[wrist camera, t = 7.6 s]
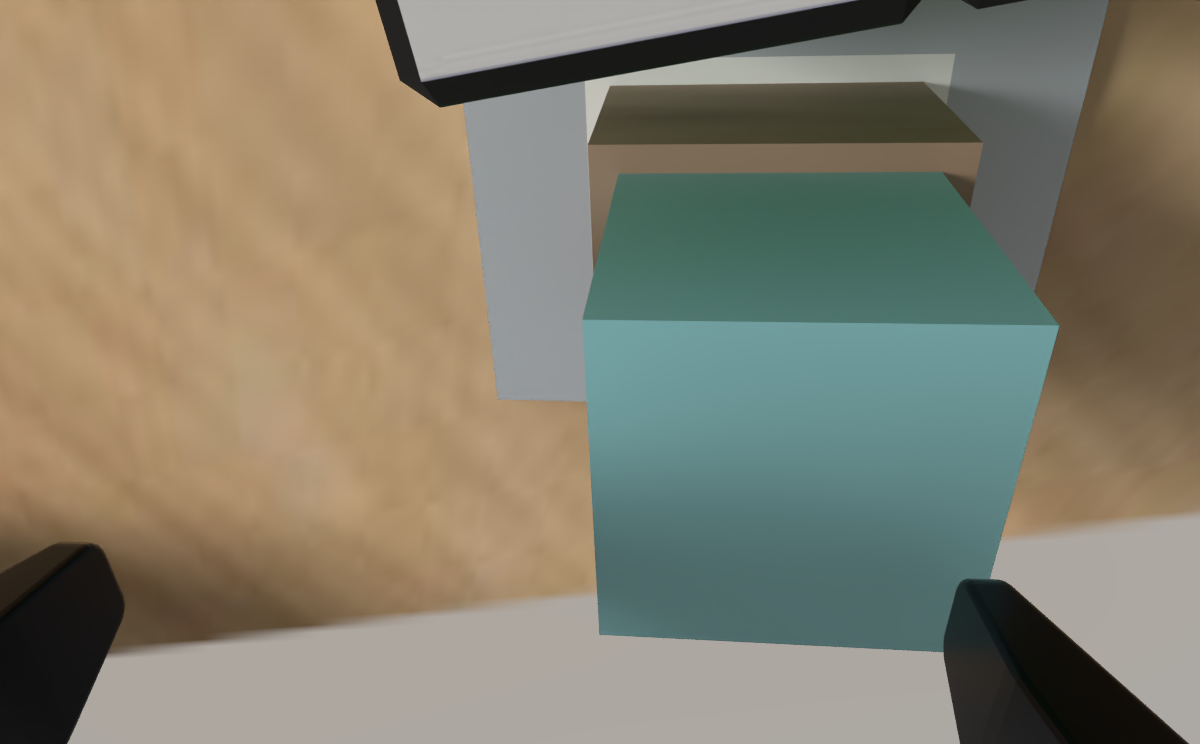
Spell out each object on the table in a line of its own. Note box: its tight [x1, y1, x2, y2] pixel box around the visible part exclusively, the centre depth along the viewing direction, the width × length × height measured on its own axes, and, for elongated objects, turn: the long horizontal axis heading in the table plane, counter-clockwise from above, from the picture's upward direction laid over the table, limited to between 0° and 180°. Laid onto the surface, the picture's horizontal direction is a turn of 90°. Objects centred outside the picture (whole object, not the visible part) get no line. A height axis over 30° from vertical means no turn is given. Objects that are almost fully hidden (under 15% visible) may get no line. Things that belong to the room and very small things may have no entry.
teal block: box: [582, 172, 1059, 652], centre depth 12 cm, size 5×5×5 cm
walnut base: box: [588, 82, 983, 274], centre depth 16 cm, size 6×6×4 cm
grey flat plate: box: [463, 0, 1109, 402], centre depth 18 cm, size 9×12×1 cm
